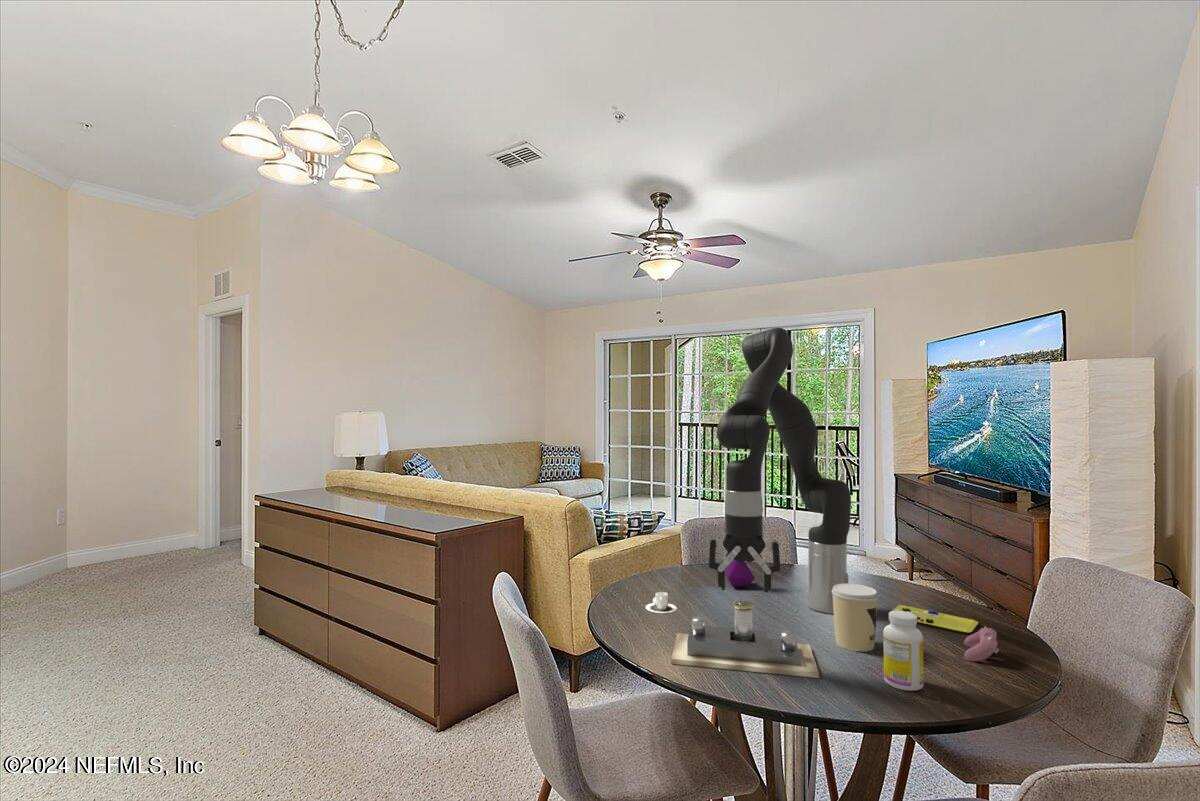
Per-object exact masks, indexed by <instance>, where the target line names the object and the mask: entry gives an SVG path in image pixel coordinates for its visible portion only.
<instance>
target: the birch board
mask: <svg viewBox="0 0 1200 801" xmlns="http://www.w3.org/2000/svg"><path fill="white" fill-rule="evenodd" d="M688 634H689V633H688ZM688 634H687V633H678V632H677V633H676V638H675V642H674V644H673V645H674V647H673V649H672V655H671V659H670V660H671V661H670V662H671V665H678V666H679V665H680V666H688V667H689V666H690V667H702V668H708V669H709V668H710V669H711V668H713V669H719V670H720V669H721V670H730V671H731V670H733V671H742V672H751V673H752V672H754V673H763V674H773V675H774V674H775V675H785V676H792V677H793V676H794V677H795V676H796V677H804V678H813V679H814V678H816V679H819V678H820V671H819V668H818V666H817V663H816V660H815V657H814V654H813V651H812V649H811V648H812V647H811V646H810V644H805V643H797V646H798V649H799V653H800V656H801V666H798V665H788V664H777V663H766V662H755V661H744V660H734V659H723V658H712V657H701V656H691V655H687V640H688Z"/></svg>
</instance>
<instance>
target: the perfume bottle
mask: <svg viewBox="0 0 1200 801" xmlns="http://www.w3.org/2000/svg"><path fill="white" fill-rule="evenodd" d="M724 570H725V578H727V580H728V582H729V584H730V585H731V587H732V588H733V587H748V588H749V586H751V584H752V583H753V581H754V580H755V576H754V575H753V573H752V571H751V569H750V568H749V566H748V565H747V563H746V561H741V562H736V561H735V560H734V559H733V560H732V561H731V562H730V564H729V565H728V566H727V567H726V568H725V569H724Z"/></svg>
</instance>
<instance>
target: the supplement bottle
mask: <svg viewBox="0 0 1200 801" xmlns="http://www.w3.org/2000/svg"><path fill="white" fill-rule="evenodd" d="M888 620H889V624H887V625H886V626H885V627H884V628H883V631H882V632H883V637H882V639H883V641H882V642H883V679H884V681H885V683H886V684H888V685H889V686H891V687H893V688H895V689H897V690H901V691H905V692H906V691H910V692H915V691H919V690H922V689H923V688H924V678H925V677H924V676H925V675H924V635H923V632H921V630H920V629H918V628H917V625H918V624H917V616H916V615H914V614H912V613H909V612H904V611H892V610H891V611H889V612H888Z"/></svg>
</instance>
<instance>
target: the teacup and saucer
mask: <svg viewBox="0 0 1200 801" xmlns="http://www.w3.org/2000/svg"><path fill="white" fill-rule="evenodd" d="M668 595H669V594H668V593H667V592H666V591H665V592H664V591H658V592H655V596H654V597H653V599H652V603H648V604H646V605H645V609H646V610H647V611H649V612H652V613H654V614H655V613H657V614H671V613H673V612H675V611H677V610H678V608H677V606H676V605H674V604H673V603H668V597H669V596H668ZM653 606H656V608H657V610H660V611H657V610H653V609H651V607H653ZM667 607H670V608H671V610H668V611H661V610H667Z"/></svg>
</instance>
